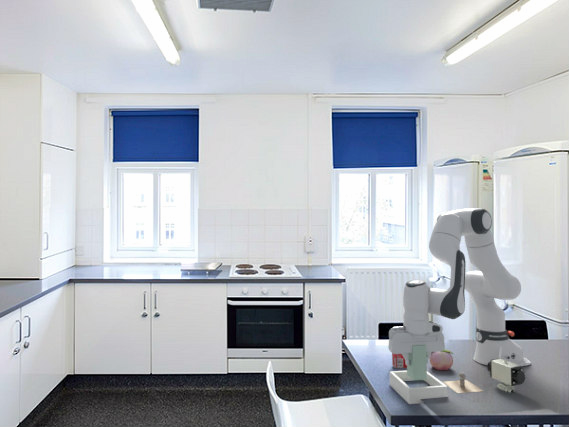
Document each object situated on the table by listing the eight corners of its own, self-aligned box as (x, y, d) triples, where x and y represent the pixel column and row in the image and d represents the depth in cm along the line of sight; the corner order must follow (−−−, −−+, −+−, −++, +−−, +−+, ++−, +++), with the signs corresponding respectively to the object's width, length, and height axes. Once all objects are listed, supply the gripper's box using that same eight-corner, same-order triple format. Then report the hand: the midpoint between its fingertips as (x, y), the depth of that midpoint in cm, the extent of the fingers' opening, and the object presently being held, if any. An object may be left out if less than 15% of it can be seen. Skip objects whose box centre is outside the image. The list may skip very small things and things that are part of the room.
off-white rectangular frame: (424, 382, 151) (424, 369, 152) (447, 401, 136) (447, 386, 136) (389, 384, 149) (389, 371, 149) (409, 404, 134) (409, 389, 134)
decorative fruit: (449, 368, 166) (448, 344, 166) (456, 375, 158) (455, 350, 158) (426, 367, 167) (425, 343, 167) (432, 375, 158) (431, 350, 159)
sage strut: (426, 379, 140) (426, 345, 141) (413, 380, 140) (413, 346, 140) (419, 374, 145) (419, 341, 146) (407, 374, 145) (406, 341, 145)
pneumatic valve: (516, 401, 135) (516, 366, 135) (487, 388, 145) (486, 355, 146) (527, 398, 137) (527, 363, 137) (497, 385, 148) (497, 353, 148)
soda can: (410, 371, 163) (410, 339, 163) (392, 370, 164) (392, 338, 164) (408, 365, 170) (408, 334, 170) (391, 363, 171) (391, 333, 171)
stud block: (466, 383, 150) (466, 366, 150) (483, 395, 140) (483, 377, 140) (442, 385, 148) (441, 368, 148) (457, 397, 138) (457, 379, 138)
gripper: (392, 329, 138) (393, 369, 138) (446, 326, 141) (447, 365, 141) (385, 324, 145) (385, 363, 144) (437, 322, 148) (437, 359, 147)
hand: (416, 364), depth 143 cm, fingers closed on sage strut, 5 cm apart
